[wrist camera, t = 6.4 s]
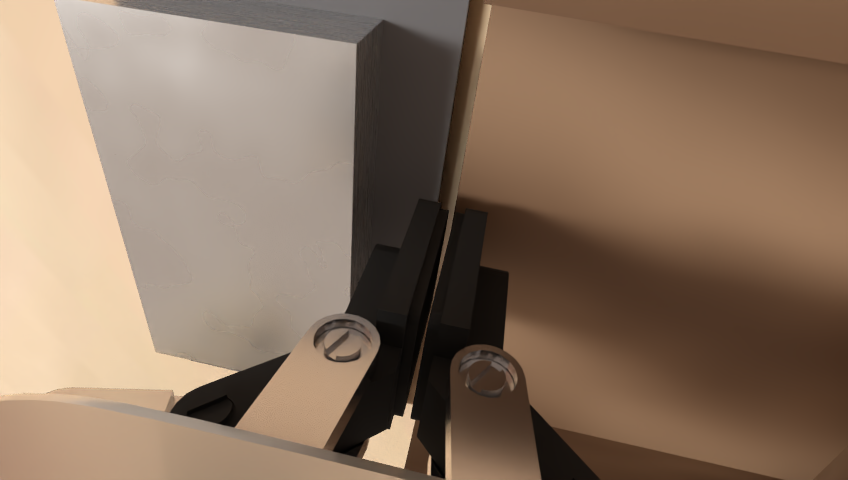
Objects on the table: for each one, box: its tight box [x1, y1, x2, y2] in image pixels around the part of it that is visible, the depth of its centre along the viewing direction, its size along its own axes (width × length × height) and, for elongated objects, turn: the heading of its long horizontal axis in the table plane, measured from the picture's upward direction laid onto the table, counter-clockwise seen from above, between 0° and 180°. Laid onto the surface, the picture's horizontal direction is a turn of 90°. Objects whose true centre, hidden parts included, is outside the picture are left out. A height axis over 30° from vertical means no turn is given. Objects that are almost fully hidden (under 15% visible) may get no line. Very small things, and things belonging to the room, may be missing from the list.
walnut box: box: [404, 0, 848, 480], centre depth 12 cm, size 14×13×4 cm
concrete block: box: [54, 0, 383, 371], centre depth 14 cm, size 10×6×2 cm, turn 174°
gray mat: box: [191, 0, 470, 372], centre depth 14 cm, size 16×8×1 cm, turn 173°
